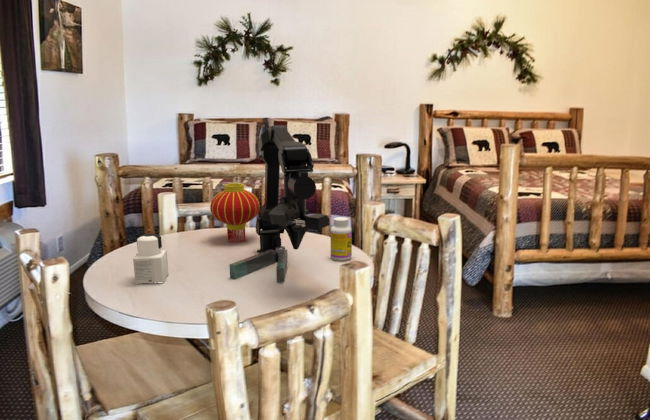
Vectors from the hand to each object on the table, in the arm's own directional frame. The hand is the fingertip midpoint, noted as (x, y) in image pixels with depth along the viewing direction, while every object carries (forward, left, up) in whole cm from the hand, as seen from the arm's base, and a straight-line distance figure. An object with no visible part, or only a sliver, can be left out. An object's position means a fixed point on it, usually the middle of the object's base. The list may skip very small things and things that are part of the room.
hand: (295, 249), depth 150 cm
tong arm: (-10, +6, -10) cm, 15 cm away
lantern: (-46, +25, -10) cm, 53 cm away
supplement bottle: (-3, +27, -10) cm, 29 cm away
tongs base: (-17, +5, -10) cm, 21 cm away
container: (-37, -19, -10) cm, 43 cm away
